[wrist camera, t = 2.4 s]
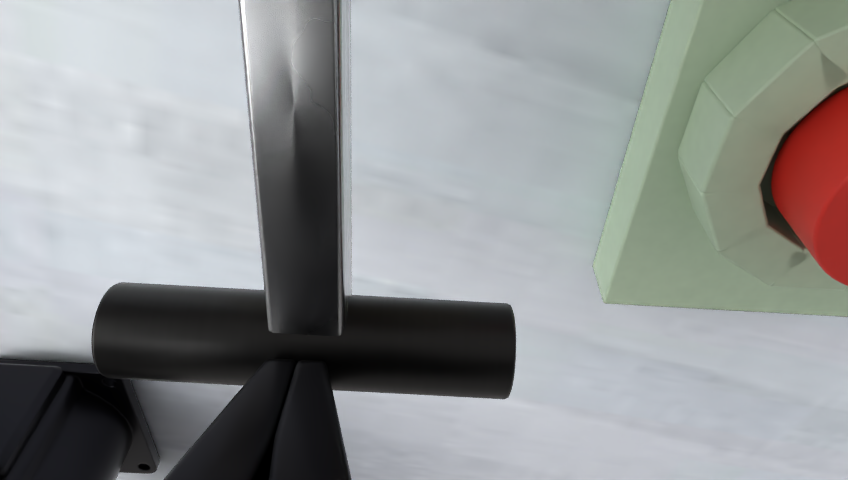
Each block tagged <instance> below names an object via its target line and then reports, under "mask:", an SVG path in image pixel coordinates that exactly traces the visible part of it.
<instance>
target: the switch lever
mask: <svg viewBox="0 0 848 480" xmlns="http://www.w3.org/2000/svg"><path fill="white" fill-rule="evenodd" d="M238 4H239V15H240V26H241V37H242V48H243V59H244V70H245V81H246V92H247V103H248V115H249V126H250V137H251V148H252V159H253V170H254V181H255V192H256V203H257V214H258V225H259V236H260V247H261V258H262V269H263V280H264V290H251V289H233V288H215V287H197V286H179V285H161V284H142V283H124V282H123V283H118V284H115V285H113V286H112V287H111V288H110V289H109V290H108V291H107V292H106V293H105V295H104V296H103V298H102V300H101V302H100V304H99V306H98V309H97V312H96V315H95V319H94V323H93V329H92V354H93V359H94V363H95V366H96V368H97V370H98V371H99V373H101V374H102V375H103V376H105V377H107V378H113V379H132V380H151V381H170V382H189V383H208V384H227V385H245V384H246V383H247V381H248V380H249V379H250V378H251V377H252V376H253V374H254V373H255V372H256V371H257V370H258V368H259V367H260V366H261V365H262V364H263V363H264V362H265V361H266V360H268V359H272V358H274V359H292V360H294V361H296V363H298V361H300V360H312V361H324V362H325V363H326V365H327V368H328V373H329V377H330V382H331V387H332V390H341V391H360V392H379V393H398V394H417V395H436V396H454V397H473V398H492V399H506V398H508V397H509V395H510V392H511V389H512V385H513V380H514V373H515V361H516V328H515V318H514V313H513V310H512V307H511V305H509V304H506V303H487V302H469V301H451V300H433V299H415V298H397V297H378V296H360V295H352V230H351V0H238Z"/></svg>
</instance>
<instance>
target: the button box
mask: <svg viewBox="0 0 848 480" xmlns="http://www.w3.org/2000/svg"><path fill="white" fill-rule="evenodd" d="M846 87H848V0H671V1H670V5H669V8H668V12H667V15H666V18H665V22H664V25H663V29H662V32H661V35H660V39H659V42H658V46H657V49H656V52H655V56H654V59H653V62H652V66H651V69H650V73H649V76H648V79H647V83H646V86H645V90H644V93H643V96H642V100H641V103H640V107H639V110H638V113H637V117H636V120H635V124H634V127H633V130H632V134H631V137H630V140H629V144H628V147H627V151H626V154H625V157H624V161H623V164H622V168H621V171H620V174H619V178H618V181H617V185H616V188H615V191H614V195H613V198H612V202H611V205H610V208H609V212H608V215H607V219H606V222H605V225H604V229H603V232H602V235H601V239H600V242H599V246H598V249H597V252H596V256H595V259H594V263H593V269H594V272H595V276H596V279H597V283H598V286H599V289H600V293H601V296H602V300H603V302H604V303H606V304H624V305H642V306H661V307H679V308H697V309H715V310H733V311H751V312H769V313H787V314H805V315H824V316H842V317H848V286H847V285H844V284H842V283H840V282H838V281H836V280H835V279H833V278H831V277H830V276H829V275H828V274H826V273H825V272H824V271H823V269H822V268H821V267H820V266H819V264H818V263H817V262H816V260H815V259H814V258H813V256H812V255H811V254H810V252H809V251H808V249H807V248H806V247H805V245H804V244H803V243H802V241H801V240H800V239H799V237H798V236H797V235H796V233H795V232H794V230H793V229H792V228H791V226H790V225H789V224H788V222H787V221H786V220H785V218H784V217H783V216H782V214H781V213H780V211H779V210H778V208H777V206H776V204H775V202H774V199H773V196H772V189H771V179H772V171H773V167H774V163H775V160H776V158H777V155H778V153H779V151H780V149H781V147H782V146H783V144H784V142H785V140H786V139H787V138H788V136H789V135H790V133H791V132H792V131H793V130H794V128H795V127H796V126H797V125H798V124H799V123H800V121H801V120H802V119H803V118H805V117H806V116H807V115H808V114H809V113H810V112H811V111H812V110H813V109H814V108H816V107H817V106H818V105H820V104H821V103H822V102H823V101H825V100H826V99H828V98H829V97H831V96H832V95H834V94H835V93H837V92H839V91H841V90H842V89H844V88H846Z"/></svg>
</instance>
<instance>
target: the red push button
mask: <svg viewBox="0 0 848 480" xmlns="http://www.w3.org/2000/svg"><path fill="white" fill-rule="evenodd" d="M771 189H772V196H773V199H774V202H775V204H776V206H777V208H778V210H779V211H780V213H781V214H782V216H783V217H784V218H785V220H786V221H787V222H788V224H789V225H790V226H791V228H792V229H793V230H794V232H795V233H796V235H797V236H798V237H799V239H800V240H801V241H802V243H803V244H804V245H805V247H806V248H807V249H808V251H809V252H810V254H811V255H812V256H813V258H814V259H815V260H816V262H817V263H818V264H819V266H820V267H821V268H822V269H823V271H824V272H825V273H826V274H828V275H829V276H830V277H831V278H833V279H835V280H836V281H838V282H840V283H842V284H844V285H847V286H848V87H846V88H844V89H842V90H841V91H839V92H837V93H835V94H834V95H832V96H831V97H829V98H828V99H826V100H825V101H823V102H822V103H821V104H820V105H818V106H817V107H816V108H814V109H813V110H812V111H811V112H810V113H809V114H808V115H807V116H806V117H805V118H803V119H802V120H801V121H800V123H799V124H798V125H797V126H796V127H795V128H794V130H793V131H792V132H791V133H790V135H789V136H788V138H787V139H786V140H785V142H784V144H783V146H782V147H781V149H780V151H779V153H778V155H777V158H776V160H775V163H774V167H773V171H772V179H771Z"/></svg>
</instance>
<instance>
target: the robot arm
mask: <svg viewBox="0 0 848 480" xmlns="http://www.w3.org/2000/svg"><path fill="white" fill-rule="evenodd" d="M159 462H160V458H159V455H158V453H157V450H156V448H155V445H154V442H153V440H152V437H151V434H150V432H149V429H148V426H147V424H146V421H145V418H144V416H143V413H142V410H141V408H140V405H139V402H138V400H137V397H136V394H135V392H134V389H133V386H132V384H131V381H130V379H113V378H107V377H105V376H103V375H102V374H101V373H99V371H98V370H97V368H96V366H95V364H85V363H67V362H48V361H29V360H10V359H0V480H116V478H117V476H118V473H119V472H127V473H153V472H155V471H156V470H157V467H158V465H159ZM164 480H351V475H350V470H349V466H348V461H347V456H346V452H345V447H344V442H343V438H342V433H341V428H340V424H339V419H338V415H337V410H336V405H335V401H334V396H333V391H332V387H331V382H330V377H329V373H328V368H327V365H326V363H325V362H324V361H312V360H300V361H298V363H296V361H294V360H292V359H274V358H272V359H268V360H266V361H265V362H264V363H263V364H262V365H261V366H260V367H259V368H258V370H257V371H256V372H255V373H254V374H253V376H252V377H251V378H250V379H249V380H248V381H247V383H246V384H245V385H244V386H243V387H242V388H241V390H240V391H239V392H238V393H237V394H236V395H235V397H234V398H233V399H232V400H231V401H230V402H229V404H228V405H227V406H226V407H225V408H224V409H223V411H222V412H221V413H220V414H219V415H218V416H217V418H216V419H215V420H214V421H213V422H212V423H211V425H210V426H209V427H208V428H207V429H206V431H205V432H204V433H203V434H202V435H201V436H200V438H199V439H198V440H197V441H196V442H195V443H194V445H193V446H192V447H191V448H190V449H189V450H188V452H187V453H186V454H185V455H184V456H183V457H182V459H181V460H180V461H179V462H178V463H177V464H176V466H175V467H174V468H173V469H172V470H171V471H170V473H169V474H168V475H167V476H166V477H165V478H164Z"/></svg>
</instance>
